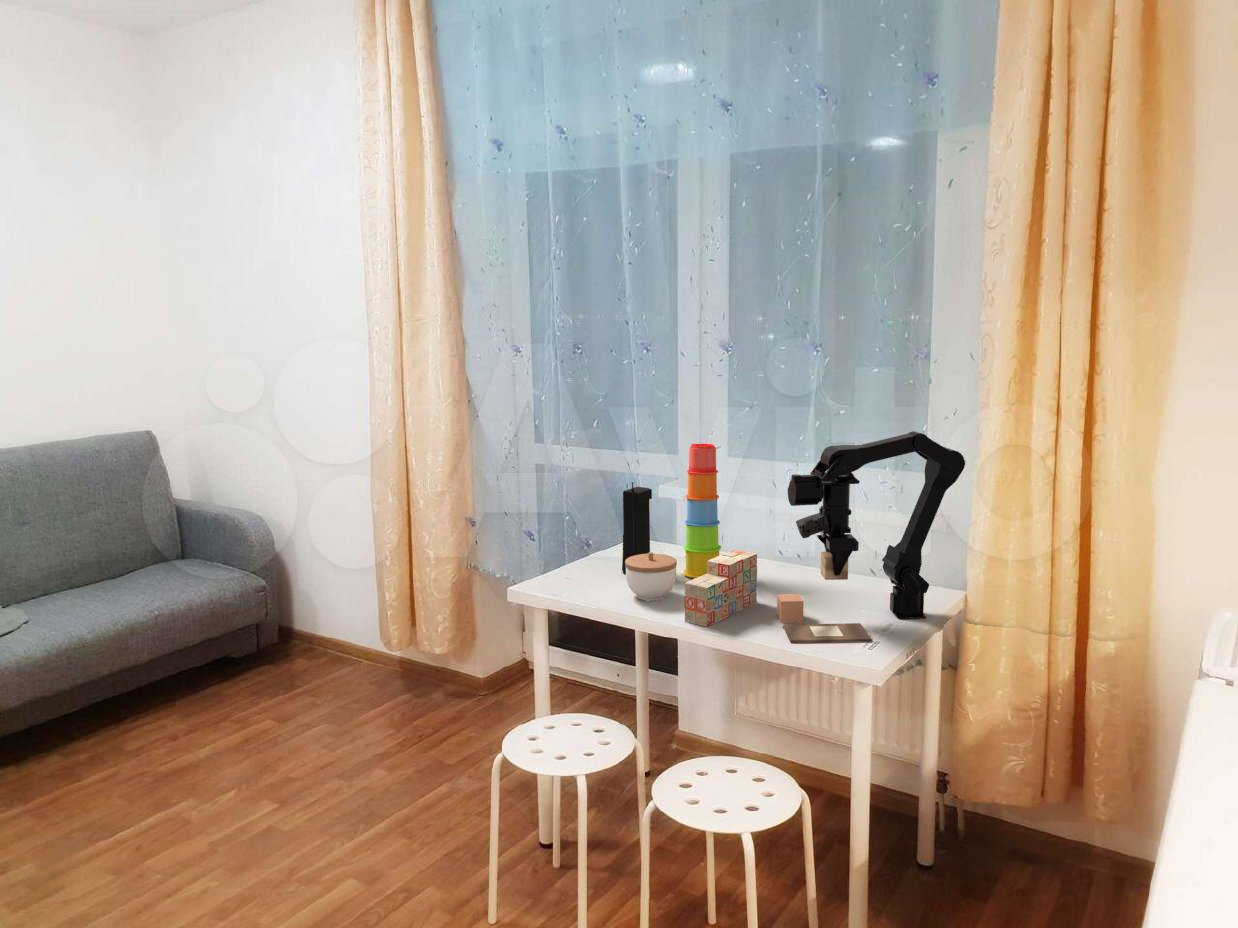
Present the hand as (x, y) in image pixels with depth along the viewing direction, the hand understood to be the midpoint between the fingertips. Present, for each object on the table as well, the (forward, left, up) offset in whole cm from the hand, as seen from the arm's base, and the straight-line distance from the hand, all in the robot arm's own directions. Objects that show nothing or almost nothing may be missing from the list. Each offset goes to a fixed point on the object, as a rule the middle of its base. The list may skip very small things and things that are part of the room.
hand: (834, 571), depth 204 cm
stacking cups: (+27, -35, -11) cm, 46 cm away
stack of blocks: (+24, -6, -11) cm, 28 cm away
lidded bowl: (+41, -18, -11) cm, 46 cm away
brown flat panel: (+4, +9, -11) cm, 15 cm away
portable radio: (+44, -39, -11) cm, 60 cm away
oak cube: (0, 0, -1) cm, 1 cm away
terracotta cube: (+10, -1, -11) cm, 15 cm away
